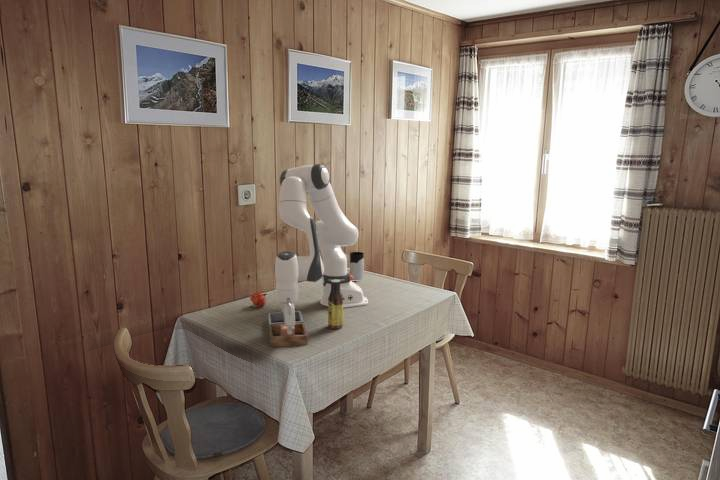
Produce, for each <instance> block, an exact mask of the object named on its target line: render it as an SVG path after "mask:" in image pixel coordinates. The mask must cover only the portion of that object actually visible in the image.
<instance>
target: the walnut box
mask: <svg viewBox="0 0 720 480" xmlns="http://www.w3.org/2000/svg"><path fill="white" fill-rule="evenodd" d="M281 325H285V324H280V325H269V324H268V329H269V330H270V332H269V343H270V348H274V347H275V348H276V346H277V347H287V346H289V347H290V346H300V345H301V346H302V345H308V333H307V329H306V326H305V322H304V323H295V326H294V328H295V335H294V336H281ZM269 330H268V331H269ZM297 333H302V334H297ZM278 334H279V335H280V336H273V335H278Z"/></svg>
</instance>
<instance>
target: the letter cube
mask: <svg viewBox="0 0 720 480" xmlns="http://www.w3.org/2000/svg"><path fill="white" fill-rule="evenodd" d="M294 335H296V333H295V328H294V326H293V327H292V334H290V335H288V334H287V327H286V326H285V325H281V334H280V336H294Z"/></svg>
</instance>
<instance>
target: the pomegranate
mask: <svg viewBox="0 0 720 480" xmlns="http://www.w3.org/2000/svg"><path fill="white" fill-rule="evenodd" d="M267 295H268V294H267V293H262V292H254V293H252V294H251V296H250V298H249V299H250V301H251V302H252V304H251V305H250V306H249V308H251V307H253V306H255V307H256V308H257V309H261V308H264V306H265V305H266V302H267V298H266V296H267Z"/></svg>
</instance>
